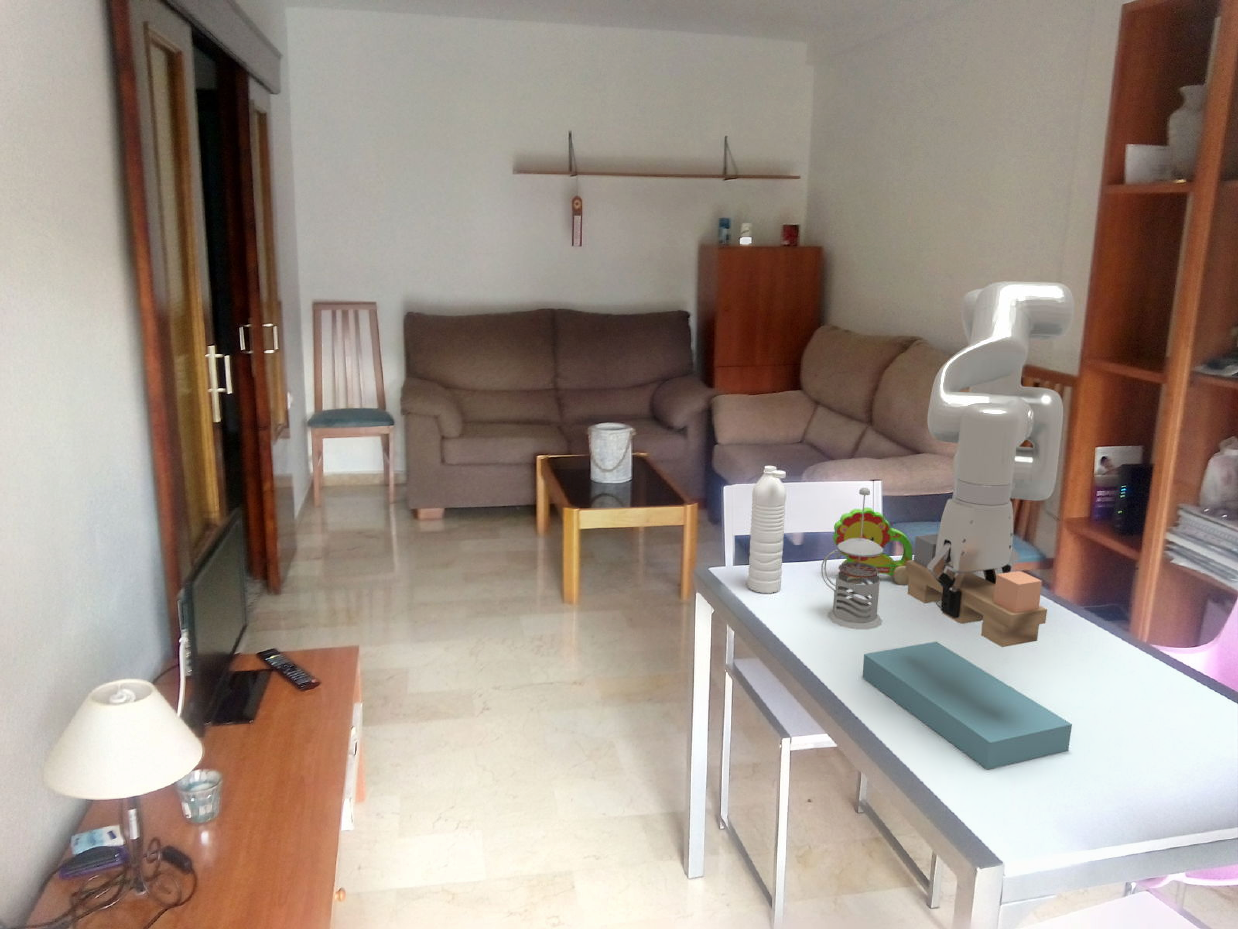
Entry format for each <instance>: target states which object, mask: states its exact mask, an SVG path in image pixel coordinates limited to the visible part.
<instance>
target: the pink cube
mask: <svg viewBox="0 0 1238 929" xmlns="http://www.w3.org/2000/svg"><path fill="white" fill-rule="evenodd" d="M1042 585H1043V580H1041V579H1039V578H1037V577H1034V576H1032V575H1030V574H1028V573H1026V572H1024V571H1021V570H1017V571H1010V572H1009V573H1002V574H997V575H996V584H995V593H994V601H993V602H995V603H997V604H999V605H1001V606H1003V607H1004V608H1006V609H1008V610H1010V611H1012V612H1014V613H1018V612H1024V611H1030V610H1036V609H1039V606H1040V601H1041V595H1042V594H1041V593H1042Z"/></svg>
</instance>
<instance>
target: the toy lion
mask: <svg viewBox="0 0 1238 929" xmlns="http://www.w3.org/2000/svg"><path fill="white" fill-rule="evenodd" d="M862 513H863V508H861V509H860V508H854V509H851V511H849V512H845V513H843V514H842V515H841V516H840V518H839V519H840V520H838V521H836V522H835V523H834V525H833V526H834V527H833V530H834V533H833V536H832V539H833V542H834V545H835V546H837V550H839V548H838V544H839V543H841V542H843V541H846V540H848V539H851V538H861V526H862ZM891 526H892V525H891V524H890V523H889V521H888V520H887V519H886V518H885V517H884V516H883V514H882V513H881V512H878V511H874V510H873V509H872V508H871V507H864V516H863V529H862V538H864V539H868V540H871V541H873V542H875V543H877V544H878V545H880V546H881V547H882V548H883V549H884V548H885V547H886V545H887V544H889V543H890V542H892V541H898V542H900V543H901V544H902V546H903V552H902V556H901V559H897V560H895V559H893V558H892V557H891V556H889V555H888V554H886V553H885V552H883V553H882V554H881V555H879V556H875V557H860V563H865V564H868V565H869V564H870V565H873V566H875V567H876V568H877V569H878V570H879V573H878V574H880V575H881V574H883V575H888V576H890V577H892V578H893V580H894V581H895V583H896V584H898V585H901V586H902V585H908V582H909V575H907V574H905V567H906V561H909V560H913V559H914V554H913V547H912V544H911V541H910V540H909V538H908V537H907V536H906V535H905V533H903V532H902V531H901V530H899V529H896V528H893V527H891ZM838 552H839V553H840V551H838ZM841 556H845V557H846V559H845V560H843V561H842V562H841V564H843V563H848V562H852V563H855V562H856V563H857V562H859V556H852V555H849V554H845V553H843V552H841ZM854 578H860V577H852V576H850V577H848V578H847V580H850V579H854ZM860 579H863V578H860ZM851 583H852V584H859V582H858V581H857V582H851Z"/></svg>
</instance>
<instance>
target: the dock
mask: <svg viewBox="0 0 1238 929" xmlns="http://www.w3.org/2000/svg"><path fill="white" fill-rule="evenodd" d="M861 678H863V680H865V681H867V682H869V684H871V685H872V686H874V687H875V688H877V689H878V690H879V691H880V692H882V693H883V694H884V695H886V696H887V697H889V698H890V699H891V700H892V701H894V702H895V703H897V704H898V705H899V706H901V707H902V708H904V710H906V711H907V712H909V713H910V714H912V715H913V716H914V717H915V718H917V719H918V720H920V721H921V722H922V723H923V724H925V725H926V726H928V727H929V728H930V729H932V730H933V731H934V732H936V733H937V734H938V735H940V736H941V737H942V738H944V739H945V740H947V741H948V742H949V743H950V744H952V745H953V746H955V747H956V748H958V749H959V750H960V751H962V753H964V754H965V755H967V756H968V757H970V758H971V759H972V760H973V761H975V762H976V763H977V764H979V765H980V766H981V767H983V768H984V769H986V770H991V769H995V768H999V767H1003V766H1009V765H1013V764H1016V763H1017V764H1018V763H1021V762H1025V761H1029V760H1033V759H1038V758H1043V757H1046V756H1051V755H1055V754H1059V753H1063V752H1068V751H1069V749H1070V741H1071V733H1072V728H1073V723H1071V722H1069V721H1067V720H1065V718H1063V717H1061V716H1059V715H1058V714H1056V713H1054V712H1053V711H1052V710H1049V709H1048V708H1046V707H1045V706H1043V705H1041V704H1040V703H1038V702H1036V701H1035V700H1033V699H1032V698H1030V697H1028V696H1026V694H1025V695H1024V693H1022V692H1020V691H1018V690H1017V689H1015V688H1013V687H1012V686H1010V685H1009V684H1007V683H1005V682H1004V681H1002V680H1000V679H998V678H997V677H995V676H994V675H992V674H990V673H988V672H987V671H985V670H984V669H982V668H980V667H979V666H977V665H976V664H974V663H972V662H971V661H970V660H967V659H965V657H963V656H961V655H959V654H958V653H956V652H954V651H953V650H951V649H949V648H948V647H946V646H944V645H943V644H942V643H940V642H938V641H932V642H931V641H930V642H925V643H920V644H919V643H918V644H914V645H909V646H904V647H898V648H897V647H896V648H891V649H884V650H879V651H874V652H868V653H864V654H863V666H862V677H861Z"/></svg>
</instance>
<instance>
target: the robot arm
mask: <svg viewBox="0 0 1238 929" xmlns="http://www.w3.org/2000/svg"><path fill="white" fill-rule="evenodd" d="M960 316H961V323H962V327H963V328H962V329H963V331H964V335H965V337H966V340H967V344H968V345H967V346H966V347H964V348H962V349H961V350H959V351H958V352H956V353H955V354H954V355H953V356H951V357H950V358H949V359H948V360H947V361H946V362H945V363H944V364H943V365H942V366H941V367H940V368H939V371H938V372H937V374H935V378H934V380H933V381H934V382H933V384H932V388H931V394H930V397H929V398H930V399H929V404H928V409H927V410H928V411H927V427H928V431H929V433H930V436H932V437H933V438H934V439H936V440H937V441H939V442H943V443H950V444H951V443H952V444H957V450H956V452H955V455H954V457H953V464H952V472H953V473H952V475H953V490H952V491H953V492H952V498H949V499H947V501H946V504H945V506H944V508H943V509H944V510H943V513H942V516H941V520H940V524H939V530H938V533H937V534H938V539H937V545H936V554H935V557H934V558H933V559H932V560H931V562H930V563H929V564H928V565H927V569H928V570H929V571H930V572H931V573H932V575H934V577H935V579H936V580H937V581H938V582H939V584H940V585H941V586H942V587H943V592H942V601H937V602H936V604H937V605H938V606H939V607H940V611H941V612H944V613H945V614H947V615H949V616H951V617H953V618H958V617H959V612H960V603H961V592H960V591H958V589H959V587H960V585H961V582H962V580H963V578H964V575H965V573H969V572H971V573H973V574H975V575H977V576H979V577H981V578H983V579H985V580H987V581H990V582H992V583H994V584H996V575H997V574H1002V573H1009V572H1012V568H1013V567H1014V566H1015V564H1017V563H1018V561H1019V560H1020V558H1021V557H1020V555H1019V553H1018V552H1017V550H1015V548H1014V547H1013V543H1014V508H1013V502H1012V501H1011V499H1013V500H1014V499H1016V500H1017V499H1018V500H1022V501H1023V500H1026V501H1037V502H1038V501H1044V500H1047V499H1049V498H1050V497H1051V495H1053V492H1054V489H1055V485H1056V480H1057V474H1058V467H1059V458H1060V457H1059V455H1060V448H1061V439H1062V431H1063V430H1062V429H1063V421H1064V419H1063V418H1064V405H1063V399H1062V398H1061V395H1060V394H1059V393H1058V392H1057V391H1055V390H1053V389H1051V388H1047V387H1037V386H1036V387H1034V386H1023V385H1022V383H1021V382H1022V372H1023V366H1024V365H1025V364H1026V361H1027V359H1028V353H1029V343H1030V342H1029V340H1032V341H1033V340H1034V341H1037V340H1038V341H1058V340H1061V339H1062V338H1064V337H1065V336H1066V335H1067V334H1068V332H1070V329H1071V327H1072V325H1073V320H1074V316H1075V301H1074V296H1073V293H1072V290H1071V289H1070V287H1068V286H1067V285H1065V284H1063V283H1059V282H1048V281H1020V280H1019V281H1015V280H1014V281H1012V280H1011V281H1010V280H1009V281H1006V280H1004V281H997V282H993V283H990V284H988V285H987V286H985V287H984V288H977V289H973V290H970V291H969V292H967V293H966V294H964V296H963V297H962V300H961V305H960ZM964 389H968V391H967V392H966V391H962V390H964ZM1025 441H1027V442H1030V443H1031V444H1032V447H1029V446H1021V445H1022V444H1023V443H1024V442H1025ZM944 565H946V567H945V569H944V571H943V569H942V568H943V566H944ZM953 572H954V573H955V576H954V578H953V580H952V579H951V576H952V573H953Z"/></svg>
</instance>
